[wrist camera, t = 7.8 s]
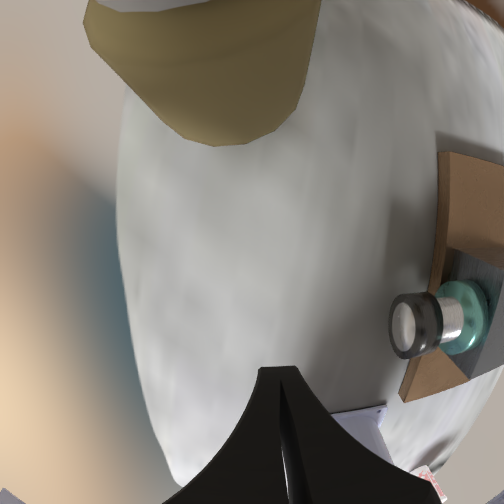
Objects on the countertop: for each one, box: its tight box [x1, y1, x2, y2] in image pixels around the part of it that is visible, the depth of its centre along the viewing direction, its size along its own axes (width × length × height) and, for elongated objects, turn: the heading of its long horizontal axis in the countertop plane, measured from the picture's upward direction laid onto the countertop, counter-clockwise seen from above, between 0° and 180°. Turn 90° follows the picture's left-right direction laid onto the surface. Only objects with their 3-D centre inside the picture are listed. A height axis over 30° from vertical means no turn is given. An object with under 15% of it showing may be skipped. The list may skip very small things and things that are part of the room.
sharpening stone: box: [398, 151, 504, 403], centre depth 15 cm, size 10×22×7 cm, turn 2°
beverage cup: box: [410, 465, 447, 503], centre depth 20 cm, size 6×6×14 cm
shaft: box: [389, 280, 490, 359], centre depth 14 cm, size 15×5×5 cm, turn 92°
